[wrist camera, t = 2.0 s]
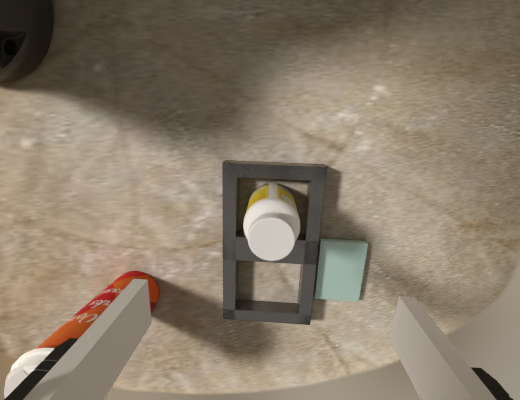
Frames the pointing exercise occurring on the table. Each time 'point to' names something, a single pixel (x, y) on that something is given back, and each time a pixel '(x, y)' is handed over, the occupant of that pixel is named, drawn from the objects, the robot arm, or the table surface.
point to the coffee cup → (76, 327)
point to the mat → (340, 269)
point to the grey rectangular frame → (240, 250)
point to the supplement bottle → (271, 222)
